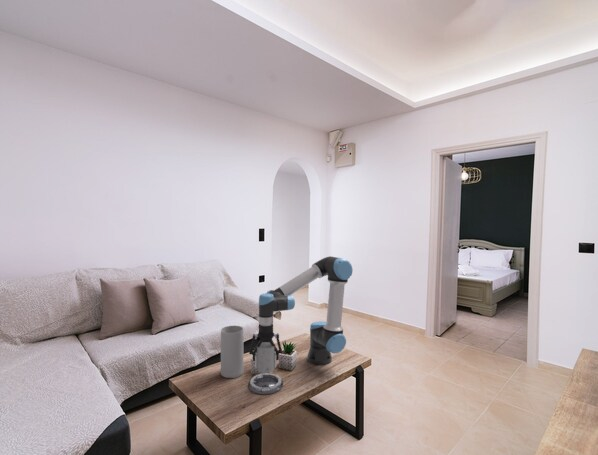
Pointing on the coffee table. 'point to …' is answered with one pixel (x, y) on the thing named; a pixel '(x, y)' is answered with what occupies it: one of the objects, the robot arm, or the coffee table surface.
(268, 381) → the round grey metal tray
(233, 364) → the cylinder vase
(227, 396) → the coffee table surface
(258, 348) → the beer can
